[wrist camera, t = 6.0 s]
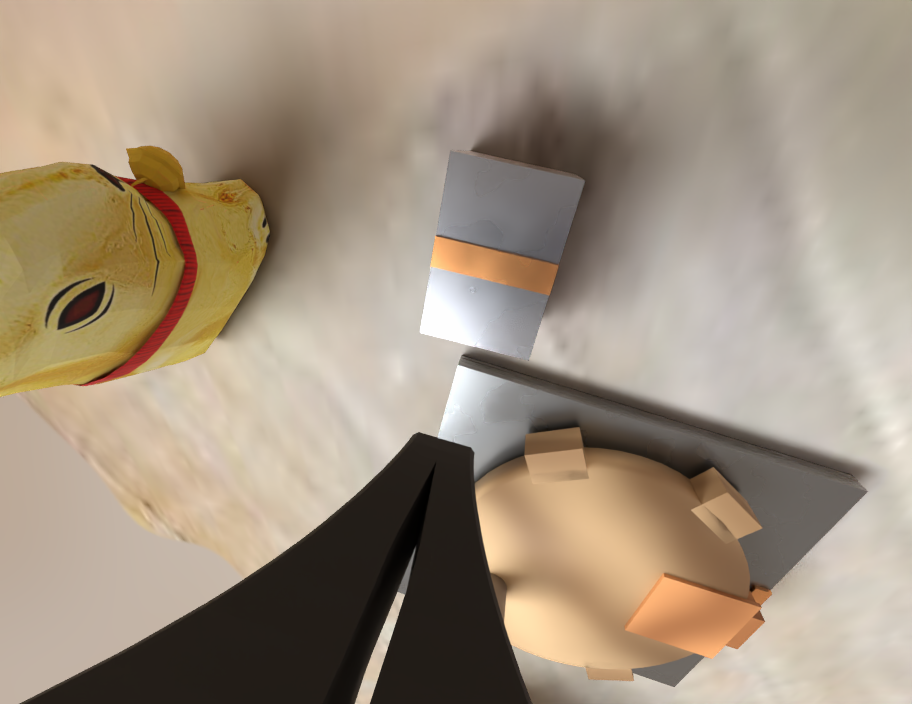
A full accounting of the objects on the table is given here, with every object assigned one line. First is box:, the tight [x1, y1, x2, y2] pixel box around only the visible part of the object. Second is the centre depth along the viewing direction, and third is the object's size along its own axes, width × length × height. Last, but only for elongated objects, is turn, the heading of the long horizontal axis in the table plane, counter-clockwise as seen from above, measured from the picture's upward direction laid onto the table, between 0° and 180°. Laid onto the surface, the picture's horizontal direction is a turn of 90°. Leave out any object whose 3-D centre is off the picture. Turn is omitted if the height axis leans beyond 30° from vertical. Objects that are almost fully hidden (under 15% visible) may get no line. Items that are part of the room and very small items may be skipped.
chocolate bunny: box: [0, 146, 270, 397], centre depth 13 cm, size 7×11×15 cm, turn 138°
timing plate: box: [397, 355, 868, 687], centre depth 22 cm, size 18×17×1 cm
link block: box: [420, 151, 585, 361], centre depth 15 cm, size 6×4×4 cm, turn 169°
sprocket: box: [475, 427, 765, 681], centre depth 19 cm, size 16×15×6 cm
